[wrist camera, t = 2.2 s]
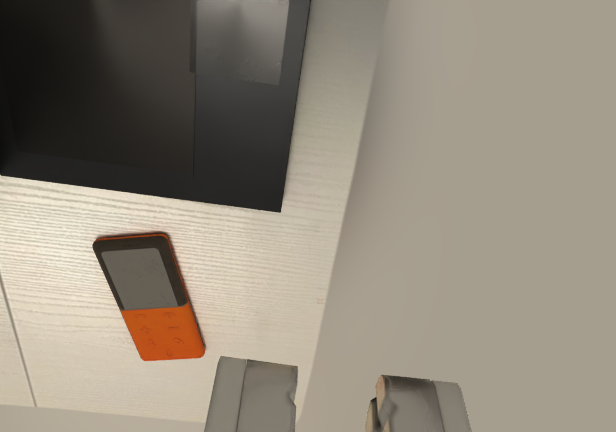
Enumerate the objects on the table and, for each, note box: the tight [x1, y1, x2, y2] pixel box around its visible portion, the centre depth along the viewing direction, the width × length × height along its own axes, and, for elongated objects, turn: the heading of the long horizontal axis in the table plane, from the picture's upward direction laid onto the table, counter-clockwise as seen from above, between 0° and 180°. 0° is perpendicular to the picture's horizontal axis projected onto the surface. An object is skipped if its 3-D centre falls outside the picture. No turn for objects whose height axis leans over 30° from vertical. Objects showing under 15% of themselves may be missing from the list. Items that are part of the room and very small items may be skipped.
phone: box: [93, 234, 205, 361], centre depth 49 cm, size 6×1×15 cm
